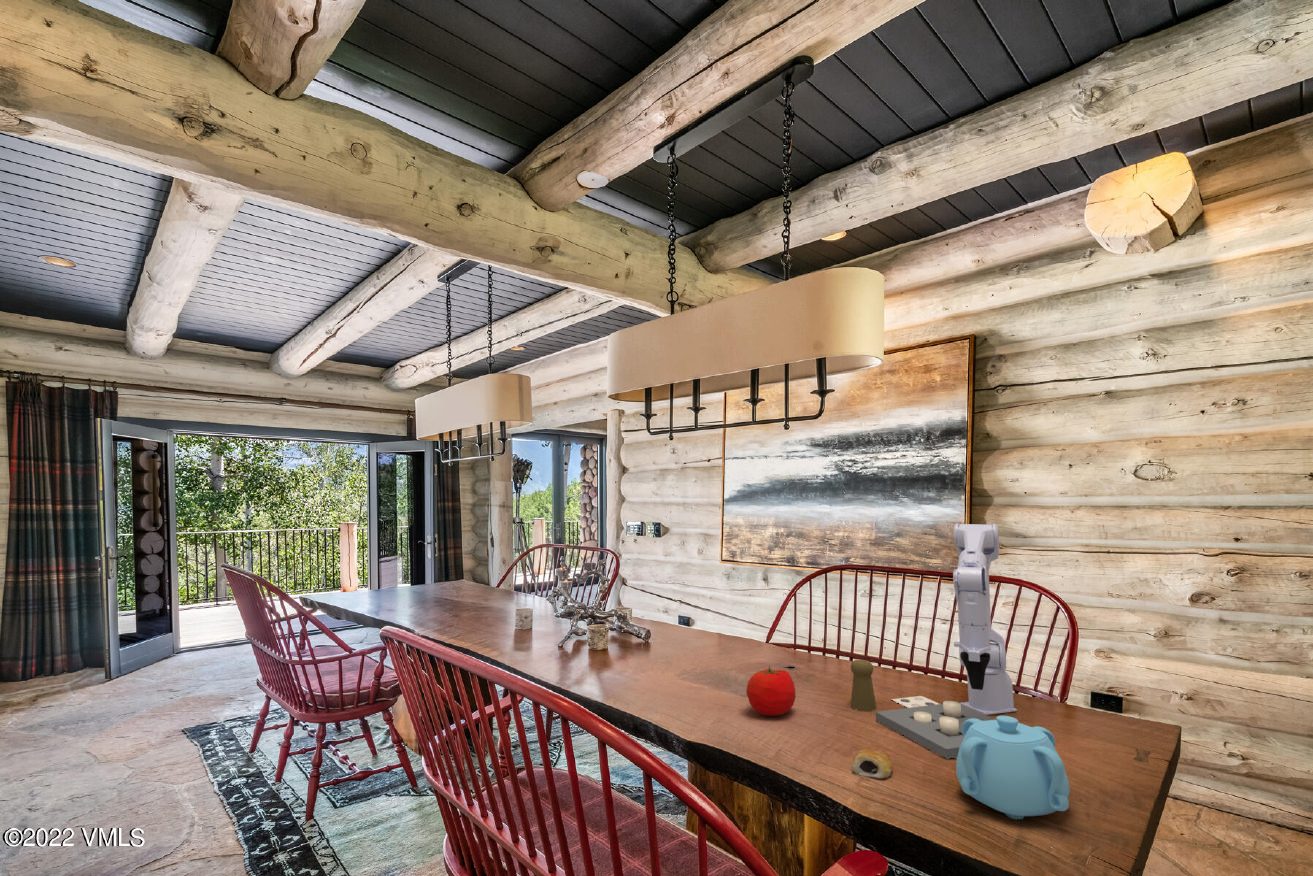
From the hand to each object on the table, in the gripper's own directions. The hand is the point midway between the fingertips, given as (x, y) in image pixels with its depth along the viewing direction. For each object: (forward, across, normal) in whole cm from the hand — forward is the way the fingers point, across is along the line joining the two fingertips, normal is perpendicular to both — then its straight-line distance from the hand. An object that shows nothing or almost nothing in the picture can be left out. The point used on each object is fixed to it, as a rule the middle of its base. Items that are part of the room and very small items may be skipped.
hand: (977, 688), depth 131 cm
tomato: (+10, +6, -44) cm, 45 cm away
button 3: (+10, 0, -11) cm, 15 cm away
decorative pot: (+10, +29, +5) cm, 32 cm away
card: (+10, -17, -14) cm, 24 cm away
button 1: (+8, -5, -5) cm, 11 cm away
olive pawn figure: (+10, -8, -25) cm, 28 cm away
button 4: (+8, +6, -5) cm, 12 cm away
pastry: (+10, +27, -18) cm, 34 cm away
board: (+10, 0, -5) cm, 11 cm away
